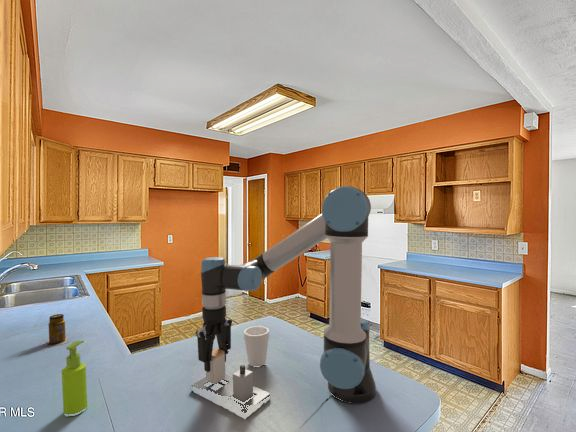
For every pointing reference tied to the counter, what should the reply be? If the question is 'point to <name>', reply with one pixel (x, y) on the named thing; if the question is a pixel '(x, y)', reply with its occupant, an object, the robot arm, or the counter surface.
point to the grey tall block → (243, 384)
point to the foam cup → (256, 344)
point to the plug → (218, 365)
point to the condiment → (56, 330)
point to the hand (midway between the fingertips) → (215, 376)
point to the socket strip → (228, 391)
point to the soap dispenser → (74, 382)
